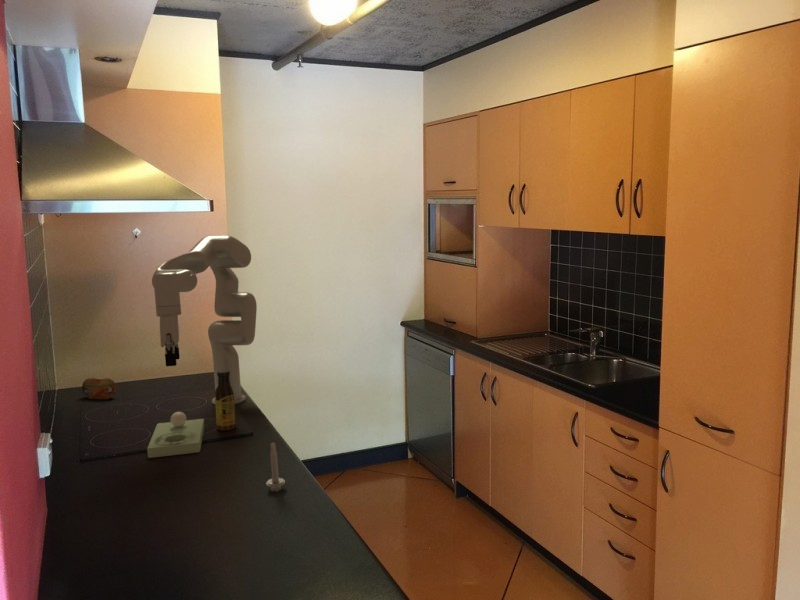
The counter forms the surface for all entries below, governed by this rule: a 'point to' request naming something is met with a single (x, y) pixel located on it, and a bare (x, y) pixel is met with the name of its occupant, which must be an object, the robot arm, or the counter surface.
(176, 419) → the ball
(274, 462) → the screw
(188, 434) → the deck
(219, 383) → the sauce bottle
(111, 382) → the tin
